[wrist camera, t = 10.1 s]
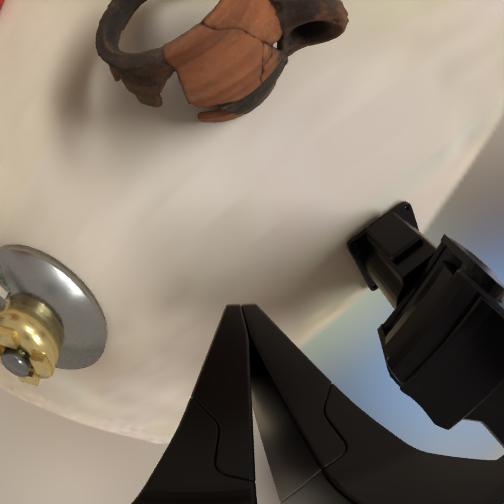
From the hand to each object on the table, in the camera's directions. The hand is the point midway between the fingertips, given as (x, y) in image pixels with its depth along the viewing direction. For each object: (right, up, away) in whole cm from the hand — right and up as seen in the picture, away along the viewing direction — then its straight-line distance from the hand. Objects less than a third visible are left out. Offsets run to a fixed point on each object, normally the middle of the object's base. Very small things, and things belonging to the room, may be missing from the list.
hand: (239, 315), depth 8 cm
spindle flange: (-20, -4, +13) cm, 24 cm away
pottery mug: (-1, +14, +6) cm, 15 cm away
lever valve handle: (-22, -2, +10) cm, 24 cm away
